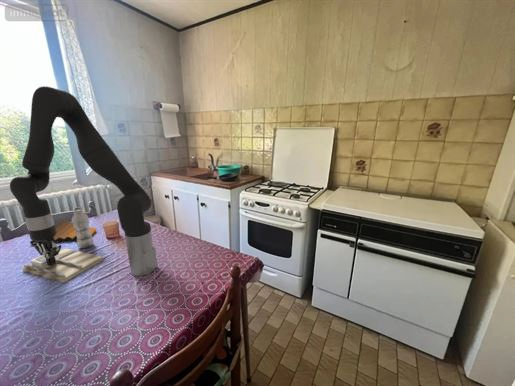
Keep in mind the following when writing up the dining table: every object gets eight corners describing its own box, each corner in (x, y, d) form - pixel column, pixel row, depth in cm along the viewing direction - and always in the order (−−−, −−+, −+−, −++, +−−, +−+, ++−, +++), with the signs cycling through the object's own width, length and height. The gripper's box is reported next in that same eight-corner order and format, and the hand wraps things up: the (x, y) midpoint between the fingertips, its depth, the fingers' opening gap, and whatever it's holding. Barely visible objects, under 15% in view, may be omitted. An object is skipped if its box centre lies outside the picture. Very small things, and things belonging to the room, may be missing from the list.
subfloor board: (103, 259, 98) (102, 254, 97) (64, 282, 83) (62, 276, 83) (65, 251, 104) (64, 246, 104) (23, 270, 90) (21, 265, 89)
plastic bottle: (80, 251, 104) (71, 212, 99) (76, 247, 108) (67, 208, 102) (96, 246, 109) (88, 208, 103) (91, 242, 113) (83, 205, 107)
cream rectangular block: (56, 262, 93) (54, 256, 92) (42, 269, 88) (40, 262, 87) (46, 260, 94) (44, 253, 93) (32, 266, 90) (30, 259, 89)
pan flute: (59, 225, 132) (30, 245, 109) (58, 220, 131) (29, 239, 108) (107, 221, 139) (89, 240, 115) (106, 216, 138) (87, 234, 114)
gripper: (64, 224, 86) (73, 262, 91) (41, 219, 90) (51, 256, 95) (41, 232, 79) (53, 273, 84) (17, 227, 83) (29, 266, 88)
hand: (52, 264), depth 89 cm, fingers closed
